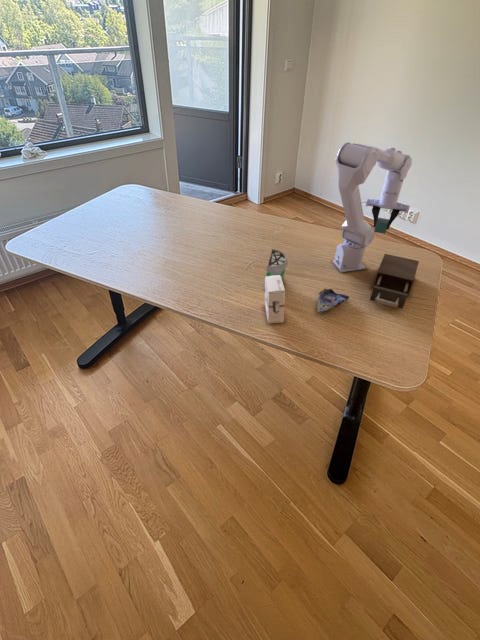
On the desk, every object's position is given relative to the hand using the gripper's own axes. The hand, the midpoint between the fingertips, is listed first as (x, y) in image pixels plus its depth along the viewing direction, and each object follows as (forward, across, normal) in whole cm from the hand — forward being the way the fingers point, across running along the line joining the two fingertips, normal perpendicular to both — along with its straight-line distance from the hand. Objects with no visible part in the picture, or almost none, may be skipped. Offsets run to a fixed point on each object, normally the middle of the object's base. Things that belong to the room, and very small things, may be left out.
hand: (381, 227), depth 128 cm
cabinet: (+10, -10, +19) cm, 24 cm away
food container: (+10, +26, +37) cm, 46 cm away
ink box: (+10, +21, +53) cm, 58 cm away
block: (+1, 0, 0) cm, 1 cm away
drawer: (+9, -10, +30) cm, 33 cm away
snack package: (+10, +7, +40) cm, 42 cm away
